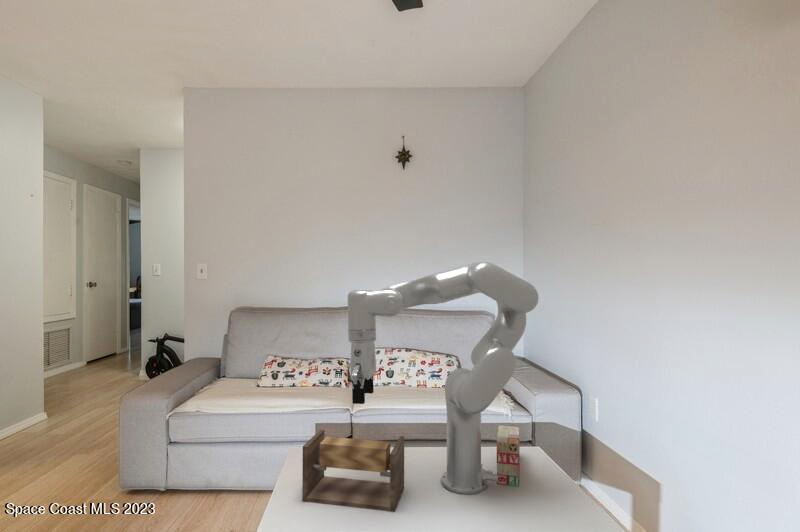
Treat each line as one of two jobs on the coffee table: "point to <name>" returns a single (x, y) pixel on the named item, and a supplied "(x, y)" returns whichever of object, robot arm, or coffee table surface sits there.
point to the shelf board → (355, 454)
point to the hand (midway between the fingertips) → (363, 398)
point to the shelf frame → (351, 481)
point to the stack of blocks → (508, 456)
